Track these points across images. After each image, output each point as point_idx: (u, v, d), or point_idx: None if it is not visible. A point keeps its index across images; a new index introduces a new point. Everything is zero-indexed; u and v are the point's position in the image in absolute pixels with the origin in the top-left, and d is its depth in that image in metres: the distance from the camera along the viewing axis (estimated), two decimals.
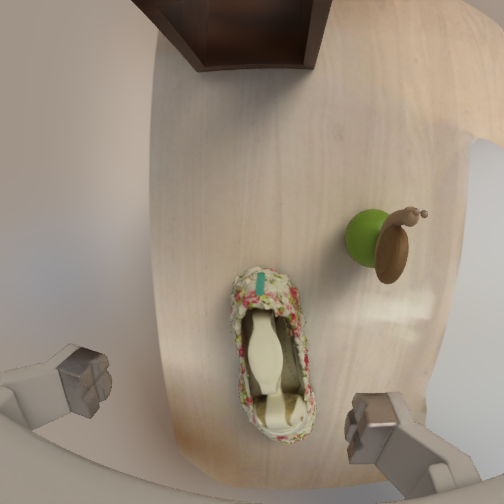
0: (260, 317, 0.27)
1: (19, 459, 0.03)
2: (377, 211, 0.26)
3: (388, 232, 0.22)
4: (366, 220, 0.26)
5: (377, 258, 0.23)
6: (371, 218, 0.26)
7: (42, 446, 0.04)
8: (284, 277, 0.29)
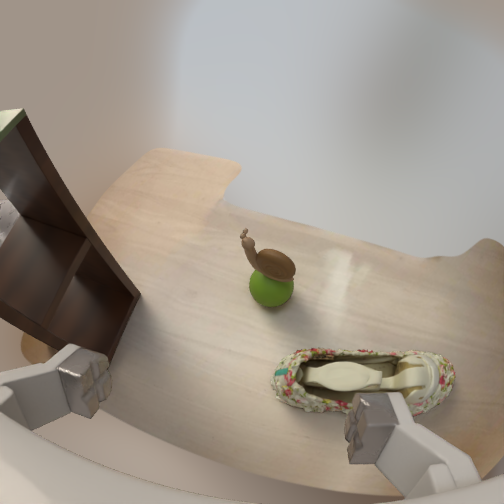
0: (308, 375, 0.29)
1: (19, 459, 0.03)
2: (251, 276, 0.38)
3: (259, 263, 0.33)
4: (254, 284, 0.37)
5: (277, 275, 0.33)
6: (253, 280, 0.37)
7: (42, 446, 0.04)
8: None
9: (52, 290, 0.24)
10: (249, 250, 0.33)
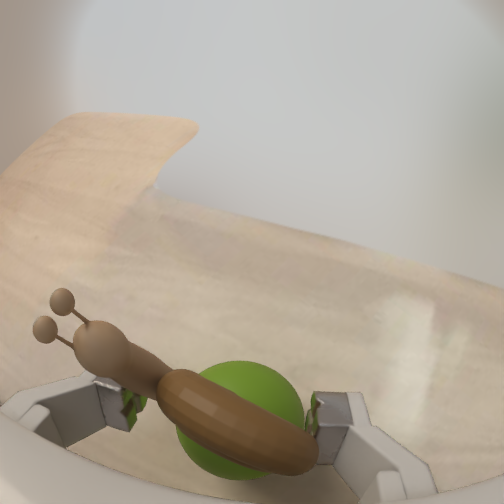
0: None
1: (19, 459, 0.03)
2: None
3: None
4: (182, 433, 0.10)
5: None
6: None
7: (42, 446, 0.04)
8: None
9: None
10: (112, 378, 0.06)
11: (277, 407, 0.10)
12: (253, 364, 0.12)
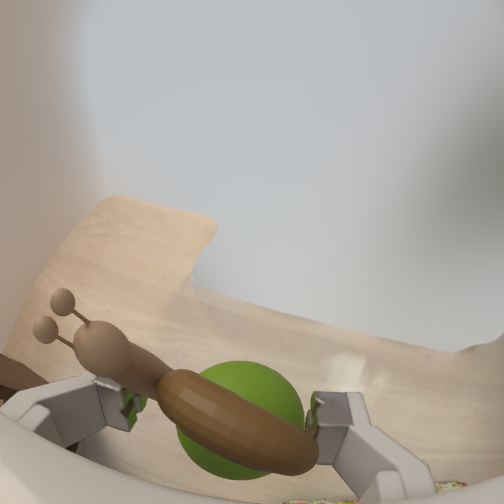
0: None
1: (19, 459, 0.03)
2: None
3: None
4: (182, 433, 0.10)
5: None
6: None
7: (42, 446, 0.04)
8: None
9: None
10: (113, 378, 0.06)
11: (277, 407, 0.10)
12: (253, 364, 0.12)
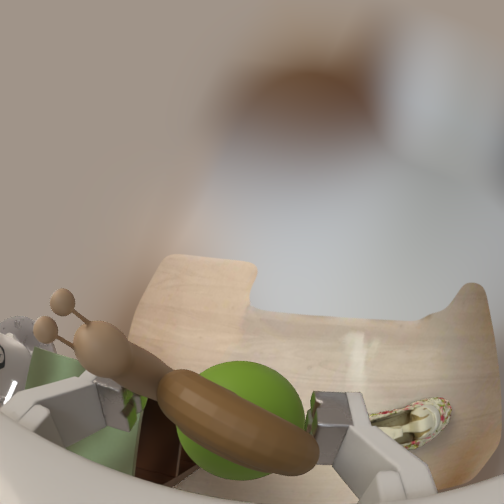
0: None
1: (19, 459, 0.03)
2: None
3: None
4: (182, 433, 0.10)
5: None
6: None
7: (42, 446, 0.04)
8: None
9: (174, 450, 0.30)
10: (112, 378, 0.06)
11: (277, 408, 0.10)
12: (253, 364, 0.12)
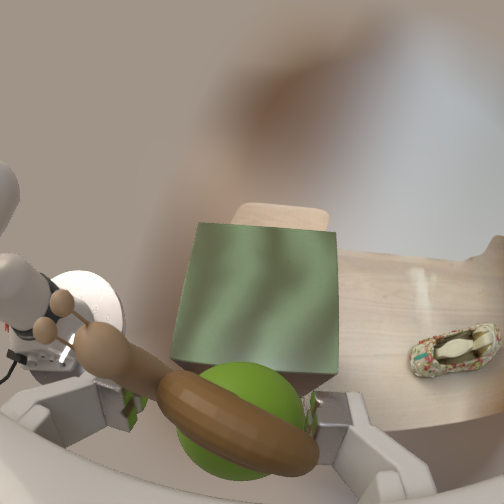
0: (437, 353, 0.42)
1: (19, 459, 0.03)
2: None
3: None
4: (182, 434, 0.10)
5: None
6: None
7: (42, 446, 0.04)
8: (414, 348, 0.47)
9: None
10: (112, 379, 0.06)
11: (277, 408, 0.10)
12: (254, 365, 0.12)
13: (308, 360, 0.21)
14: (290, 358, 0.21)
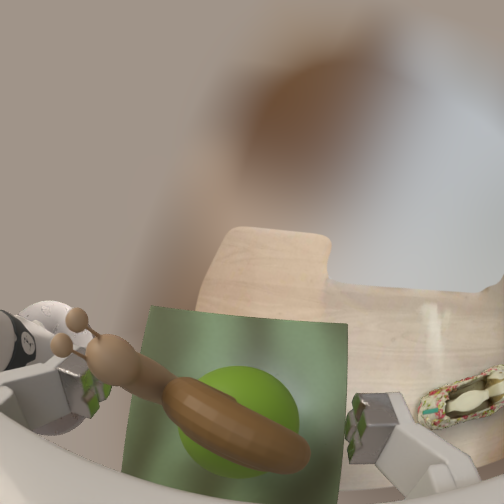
0: (448, 408, 0.34)
1: (19, 459, 0.03)
2: None
3: None
4: (183, 434, 0.11)
5: None
6: None
7: (42, 446, 0.04)
8: (424, 399, 0.38)
9: None
10: (122, 386, 0.07)
11: (273, 410, 0.11)
12: (251, 369, 0.13)
13: None
14: None
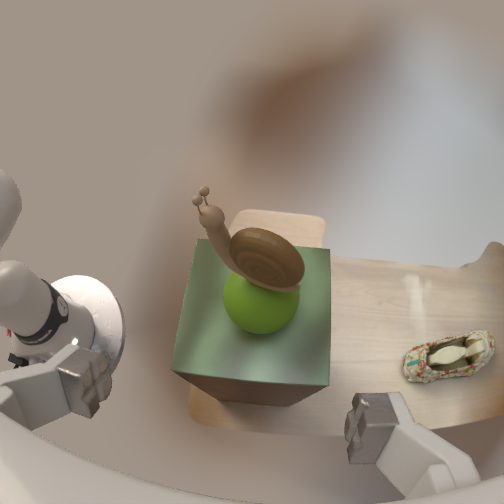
0: (429, 360, 0.44)
1: (19, 459, 0.03)
2: (226, 281, 0.22)
3: (235, 256, 0.17)
4: (229, 295, 0.21)
5: (269, 280, 0.17)
6: (228, 288, 0.21)
7: (42, 446, 0.04)
8: (408, 354, 0.48)
9: None
10: (214, 231, 0.17)
11: None
12: None
13: (301, 373, 0.22)
14: (284, 371, 0.22)
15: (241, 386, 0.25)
